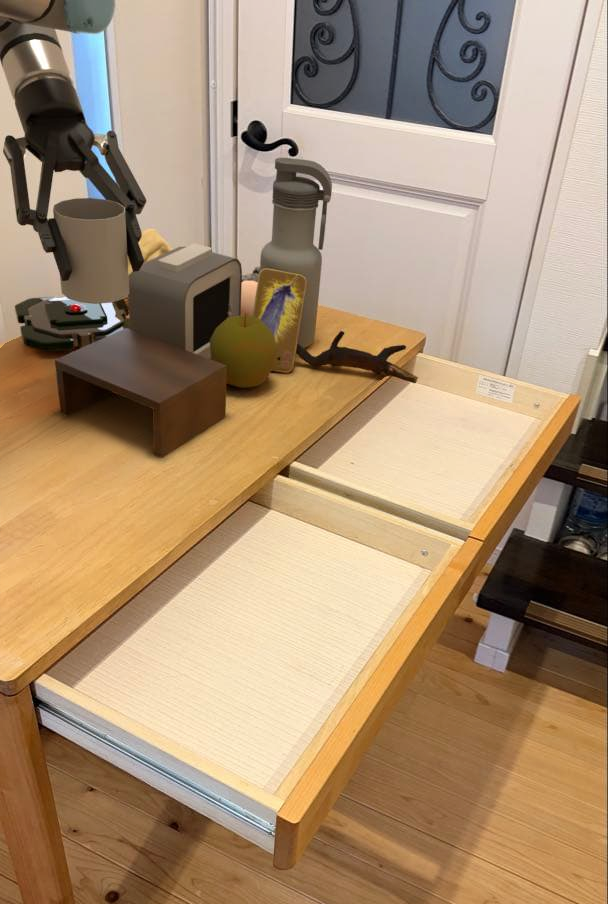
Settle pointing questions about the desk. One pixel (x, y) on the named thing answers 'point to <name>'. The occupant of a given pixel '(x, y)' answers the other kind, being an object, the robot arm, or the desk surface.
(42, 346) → the four-lobed dark green device
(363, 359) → the toy
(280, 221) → the water bottle
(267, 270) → the smartphone
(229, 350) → the apple
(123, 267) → the cup
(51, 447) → the desk surface
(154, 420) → the shelf
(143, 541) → the desk surface
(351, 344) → the desk surface
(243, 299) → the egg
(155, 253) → the tan curved lump
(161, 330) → the alarm clock
